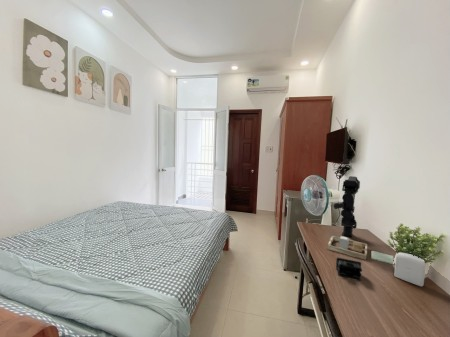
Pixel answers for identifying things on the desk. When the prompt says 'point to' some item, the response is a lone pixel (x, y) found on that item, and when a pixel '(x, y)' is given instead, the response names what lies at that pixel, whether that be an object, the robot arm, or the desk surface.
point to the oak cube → (357, 246)
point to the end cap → (348, 268)
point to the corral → (347, 252)
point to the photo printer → (410, 268)
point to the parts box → (343, 242)
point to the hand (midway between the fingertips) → (346, 223)
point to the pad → (382, 257)
